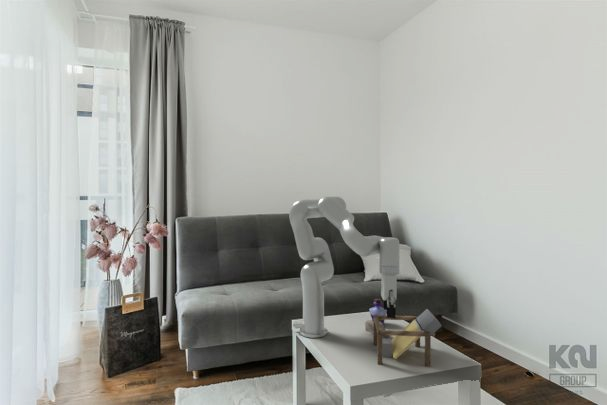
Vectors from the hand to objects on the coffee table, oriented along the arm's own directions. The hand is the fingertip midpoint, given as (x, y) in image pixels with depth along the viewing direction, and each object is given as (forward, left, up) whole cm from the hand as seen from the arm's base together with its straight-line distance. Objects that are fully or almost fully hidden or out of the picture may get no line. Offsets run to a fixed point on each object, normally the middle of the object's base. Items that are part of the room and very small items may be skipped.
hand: (389, 313), depth 141 cm
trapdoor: (+11, 0, -9) cm, 14 cm away
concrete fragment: (-3, +21, -16) cm, 26 cm away
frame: (+4, 0, -16) cm, 16 cm away
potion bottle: (-1, +33, -16) cm, 37 cm away
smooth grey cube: (+1, 0, -13) cm, 13 cm away
